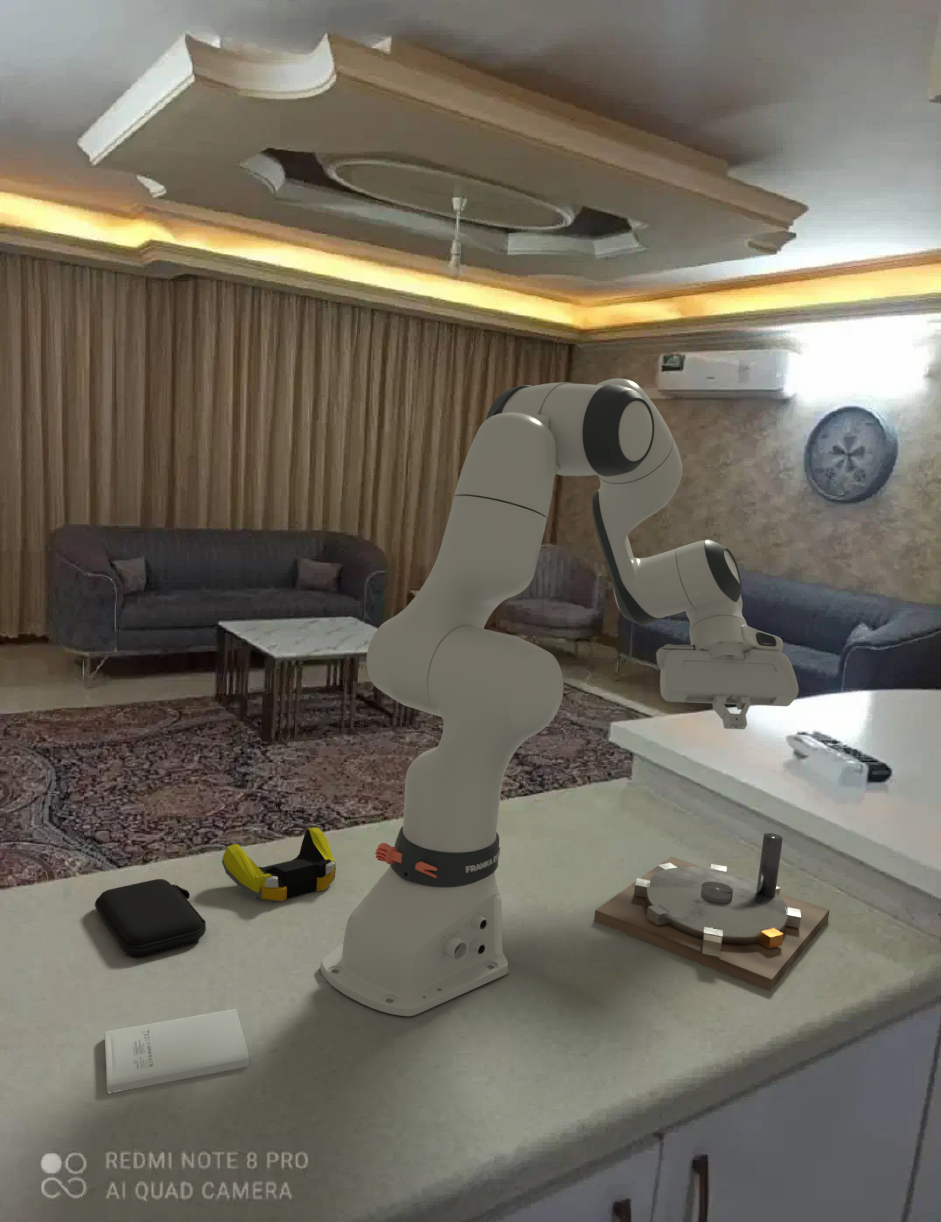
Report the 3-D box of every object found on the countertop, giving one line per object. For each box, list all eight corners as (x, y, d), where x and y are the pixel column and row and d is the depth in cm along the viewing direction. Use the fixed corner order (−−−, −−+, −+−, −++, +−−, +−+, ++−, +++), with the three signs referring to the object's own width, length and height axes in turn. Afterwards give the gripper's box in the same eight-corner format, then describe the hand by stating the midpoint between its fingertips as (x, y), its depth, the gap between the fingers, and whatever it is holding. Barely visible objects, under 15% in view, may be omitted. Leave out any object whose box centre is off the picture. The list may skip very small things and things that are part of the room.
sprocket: (764, 968, 106) (775, 891, 104) (608, 907, 118) (615, 838, 116) (817, 907, 122) (826, 840, 121) (675, 859, 134) (682, 798, 133)
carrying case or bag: (220, 942, 107) (176, 891, 118) (220, 918, 106) (177, 869, 118) (126, 968, 101) (90, 911, 112) (127, 942, 100) (90, 888, 112)
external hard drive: (249, 1072, 86) (106, 1099, 81) (235, 1021, 93) (104, 1043, 88) (249, 1056, 85) (106, 1082, 80) (236, 1006, 93) (104, 1028, 88)
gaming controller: (216, 882, 121) (249, 914, 114) (217, 843, 120) (250, 872, 113) (317, 858, 130) (353, 886, 123) (318, 822, 130) (355, 848, 122)
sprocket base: (769, 992, 104) (772, 965, 104) (593, 921, 118) (595, 897, 117) (828, 919, 123) (831, 897, 122) (670, 865, 136) (672, 845, 136)
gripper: (659, 632, 137) (671, 714, 129) (792, 638, 138) (811, 719, 130) (649, 654, 142) (660, 734, 134) (777, 660, 144) (795, 739, 136)
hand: (735, 727), depth 132 cm, fingers closed
